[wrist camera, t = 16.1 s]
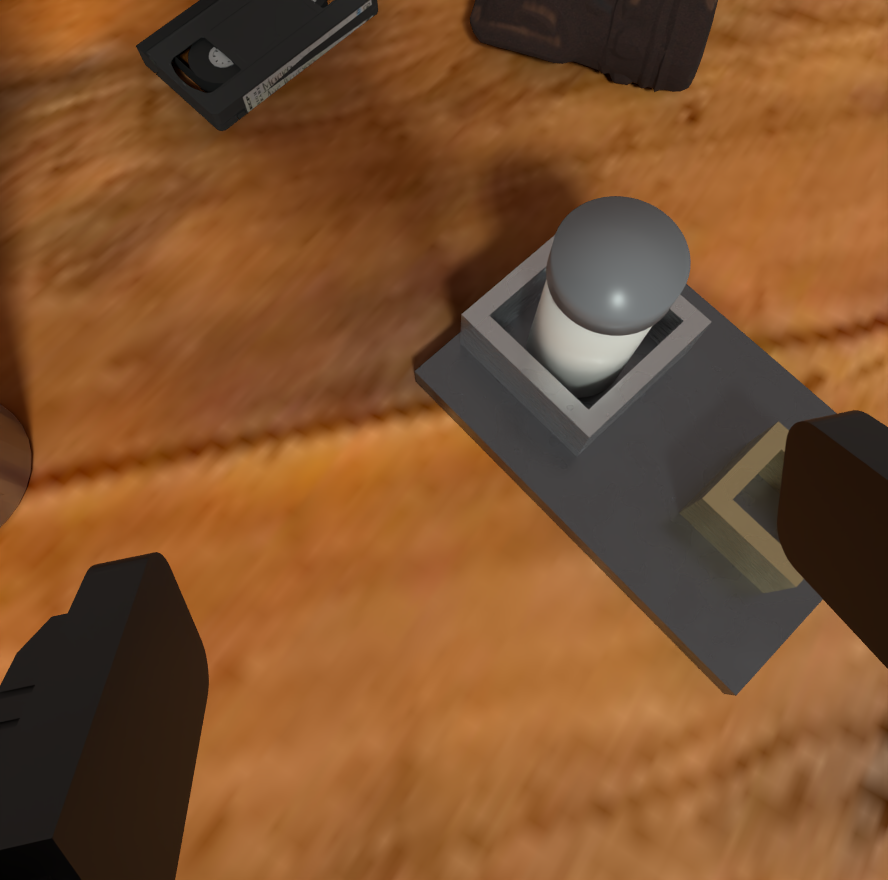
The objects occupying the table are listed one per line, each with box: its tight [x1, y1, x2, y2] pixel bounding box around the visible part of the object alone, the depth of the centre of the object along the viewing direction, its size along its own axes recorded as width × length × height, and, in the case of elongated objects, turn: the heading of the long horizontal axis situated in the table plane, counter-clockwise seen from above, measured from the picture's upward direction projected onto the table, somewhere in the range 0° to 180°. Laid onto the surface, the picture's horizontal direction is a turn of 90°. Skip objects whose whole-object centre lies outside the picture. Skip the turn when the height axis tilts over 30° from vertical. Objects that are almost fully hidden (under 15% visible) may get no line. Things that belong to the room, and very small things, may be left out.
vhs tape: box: [136, 0, 378, 131], centre depth 47 cm, size 14×8×2 cm, turn 135°
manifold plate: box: [415, 235, 837, 696], centre depth 37 cm, size 23×15×5 cm, turn 43°
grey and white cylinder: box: [526, 196, 690, 398], centre depth 34 cm, size 6×6×10 cm
